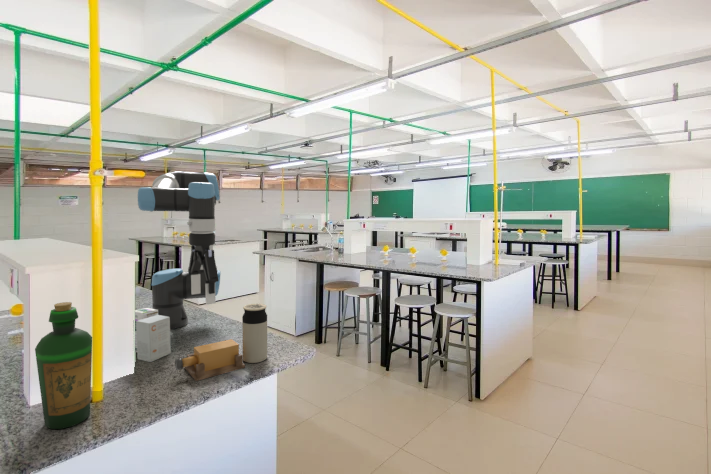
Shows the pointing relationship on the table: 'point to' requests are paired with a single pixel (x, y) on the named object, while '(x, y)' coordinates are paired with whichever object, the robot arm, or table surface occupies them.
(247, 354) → the travel mug
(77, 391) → the bottle
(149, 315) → the syrup box
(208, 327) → the table surface
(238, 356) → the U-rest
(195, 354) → the amber bottle
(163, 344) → the small box
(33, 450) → the table surface
